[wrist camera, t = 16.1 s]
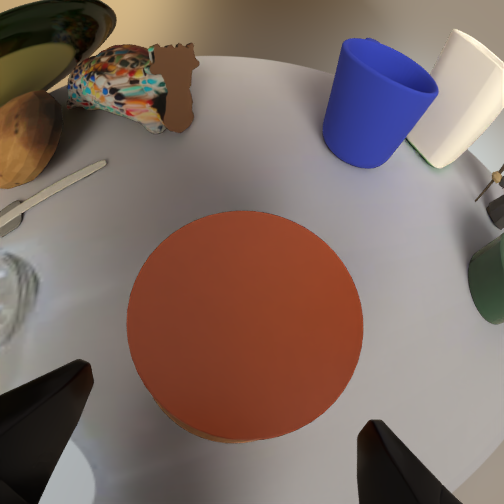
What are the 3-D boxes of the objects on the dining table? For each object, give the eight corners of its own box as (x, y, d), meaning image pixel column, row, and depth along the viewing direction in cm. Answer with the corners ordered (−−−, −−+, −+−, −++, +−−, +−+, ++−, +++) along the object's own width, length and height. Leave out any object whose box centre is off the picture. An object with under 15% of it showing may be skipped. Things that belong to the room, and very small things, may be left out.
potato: (6, 198, 23) (9, 129, 21) (87, 176, 21) (91, 90, 19) (-45, 202, 15) (-40, 123, 14) (21, 171, 13) (34, 64, 12)
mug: (379, 112, 29) (411, 46, 20) (396, 189, 24) (453, 110, 15) (313, 92, 29) (335, 18, 20) (311, 166, 23) (349, 67, 14)
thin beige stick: (110, 176, 21) (103, 155, 22) (109, 173, 21) (102, 151, 22) (-37, 266, 16) (-36, 241, 17) (-39, 264, 15) (-39, 239, 16)
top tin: (297, 389, 15) (389, 394, 6) (193, 414, 14) (154, 459, 5) (270, 292, 18) (321, 197, 9) (171, 312, 17) (117, 230, 8)
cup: (459, 166, 27) (524, 82, 14) (434, 181, 25) (512, 78, 12) (421, 124, 29) (472, 36, 16) (390, 132, 27) (447, 25, 14)
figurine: (214, 91, 26) (110, 105, 30) (188, 15, 18) (79, 52, 22) (177, 147, 22) (71, 153, 27) (132, 57, 15) (30, 98, 19)
